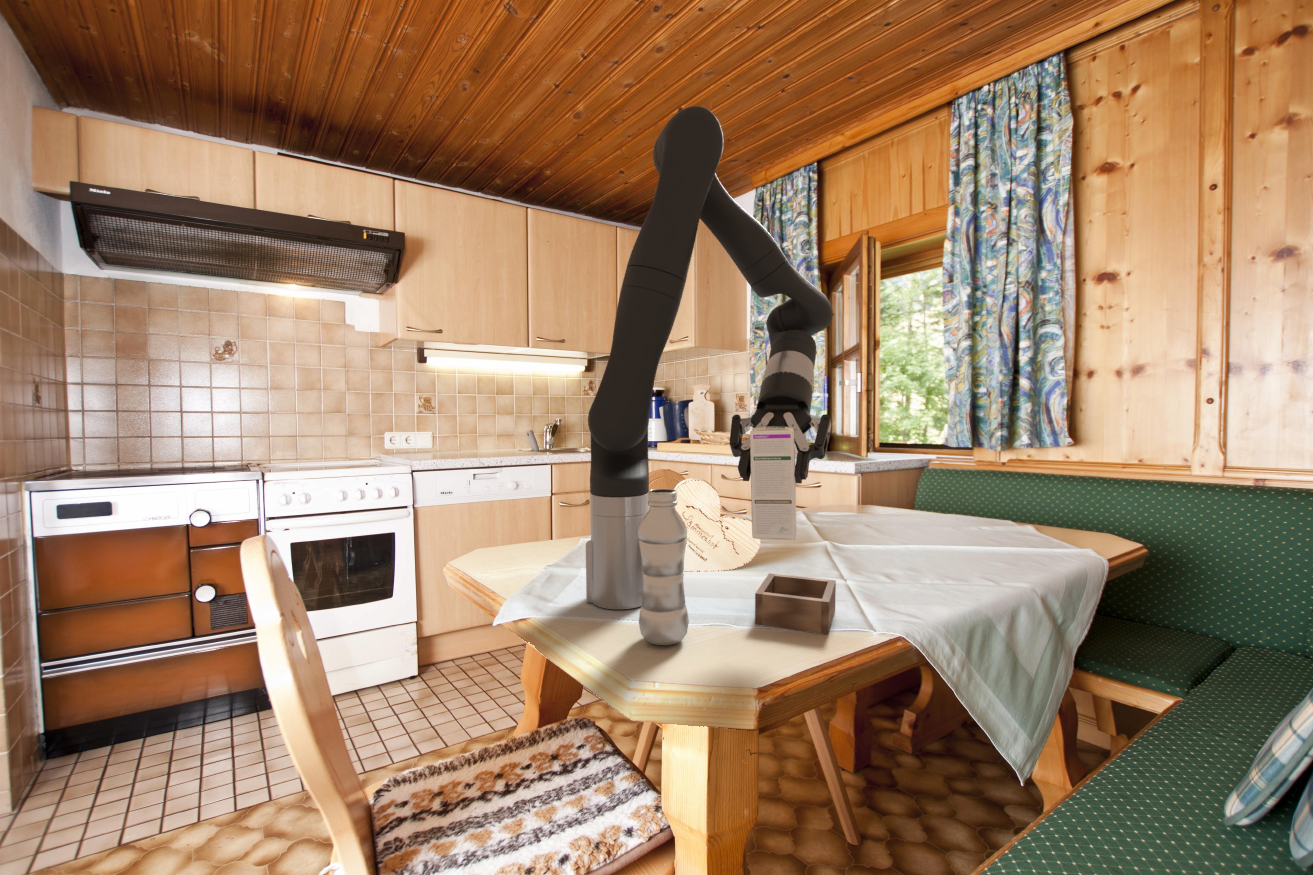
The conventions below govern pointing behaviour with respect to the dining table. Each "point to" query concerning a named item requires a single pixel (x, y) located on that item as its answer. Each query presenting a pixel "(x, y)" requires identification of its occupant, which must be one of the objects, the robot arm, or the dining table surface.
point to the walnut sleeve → (796, 603)
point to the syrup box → (773, 483)
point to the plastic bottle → (663, 570)
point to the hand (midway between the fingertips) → (771, 478)
